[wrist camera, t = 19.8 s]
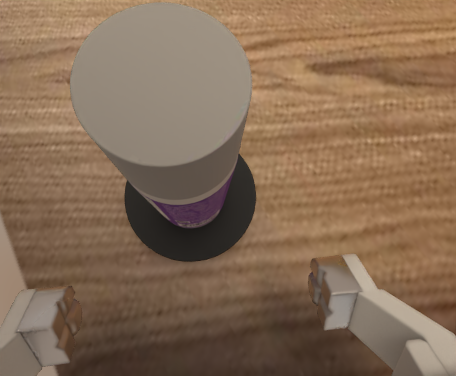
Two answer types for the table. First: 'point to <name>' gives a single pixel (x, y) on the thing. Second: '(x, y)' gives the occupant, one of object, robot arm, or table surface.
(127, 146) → the container
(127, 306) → the table surface
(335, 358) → the table surface
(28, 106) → the table surface
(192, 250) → the coaster
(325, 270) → the robot arm
